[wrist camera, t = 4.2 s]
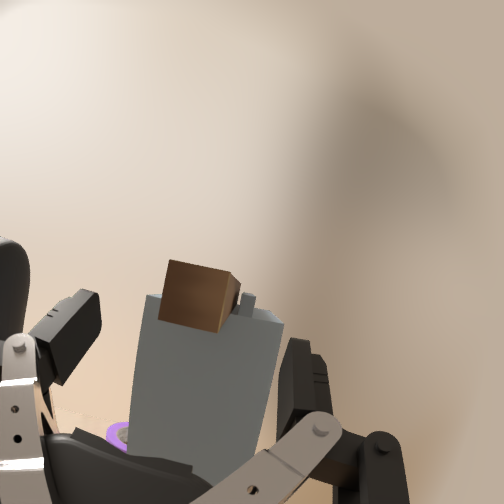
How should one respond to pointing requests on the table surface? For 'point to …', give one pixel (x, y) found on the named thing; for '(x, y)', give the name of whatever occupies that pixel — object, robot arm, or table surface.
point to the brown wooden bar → (198, 296)
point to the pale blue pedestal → (203, 389)
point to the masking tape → (118, 435)
